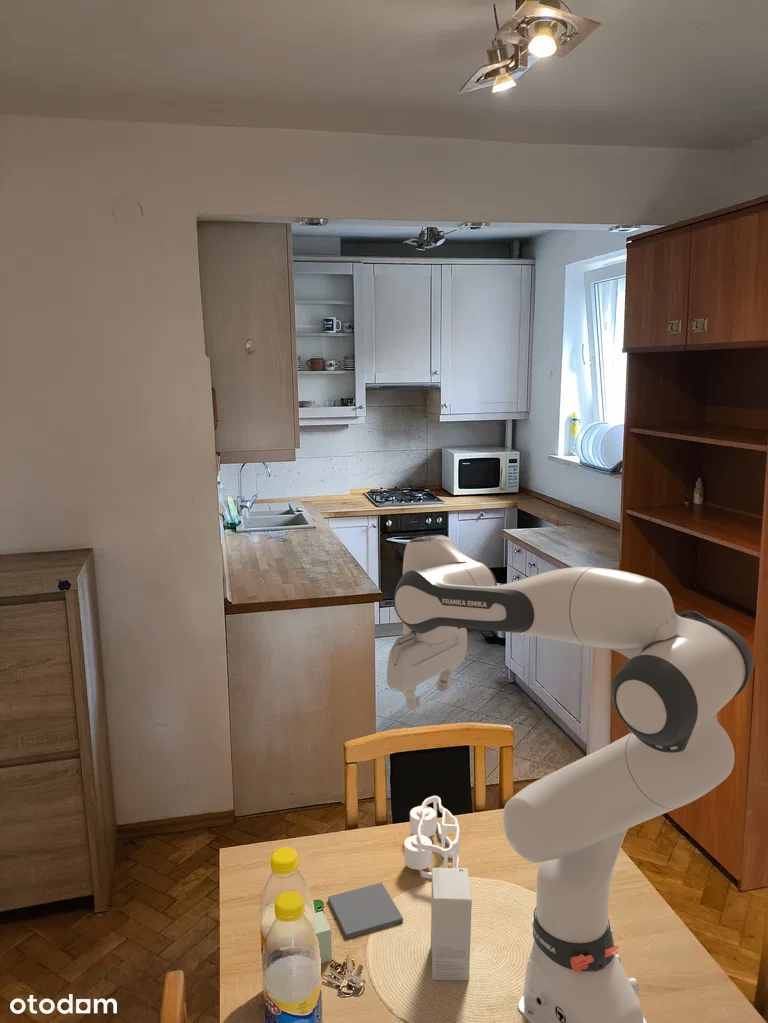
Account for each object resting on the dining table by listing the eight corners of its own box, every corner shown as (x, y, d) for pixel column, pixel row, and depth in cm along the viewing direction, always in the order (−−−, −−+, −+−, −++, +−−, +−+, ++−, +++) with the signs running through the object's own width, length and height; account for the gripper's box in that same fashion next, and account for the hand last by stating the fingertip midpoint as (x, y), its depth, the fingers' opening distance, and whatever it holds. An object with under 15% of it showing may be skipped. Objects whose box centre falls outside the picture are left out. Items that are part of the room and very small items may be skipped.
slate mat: (403, 921, 140) (403, 918, 140) (346, 938, 136) (346, 934, 136) (381, 886, 150) (381, 882, 150) (328, 900, 147) (328, 896, 146)
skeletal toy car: (412, 824, 172) (412, 794, 170) (461, 827, 170) (461, 797, 169) (401, 881, 152) (401, 848, 151) (457, 885, 150) (457, 851, 149)
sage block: (331, 960, 131) (330, 929, 130) (303, 968, 130) (302, 937, 129) (323, 941, 136) (322, 910, 135) (296, 948, 134) (295, 918, 133)
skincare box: (430, 945, 134) (430, 865, 132) (468, 946, 134) (468, 865, 132) (432, 982, 126) (431, 897, 124) (472, 983, 126) (472, 898, 123)
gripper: (407, 644, 125) (408, 723, 127) (473, 614, 141) (472, 684, 143) (377, 637, 129) (378, 713, 131) (444, 608, 145) (444, 677, 147)
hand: (428, 698), depth 137 cm, fingers open, 8 cm apart
